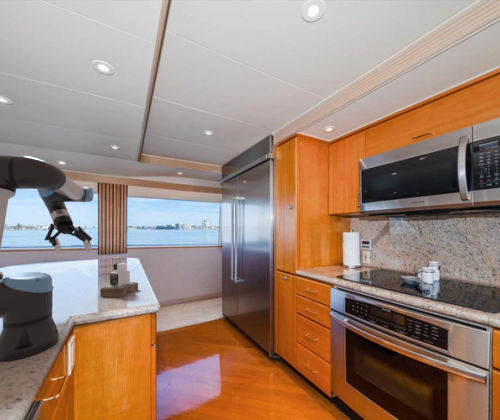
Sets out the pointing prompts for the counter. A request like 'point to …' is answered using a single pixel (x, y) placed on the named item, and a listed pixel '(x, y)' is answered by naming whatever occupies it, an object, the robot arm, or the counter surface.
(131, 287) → the walnut stand
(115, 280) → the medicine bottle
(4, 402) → the counter surface
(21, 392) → the counter surface
